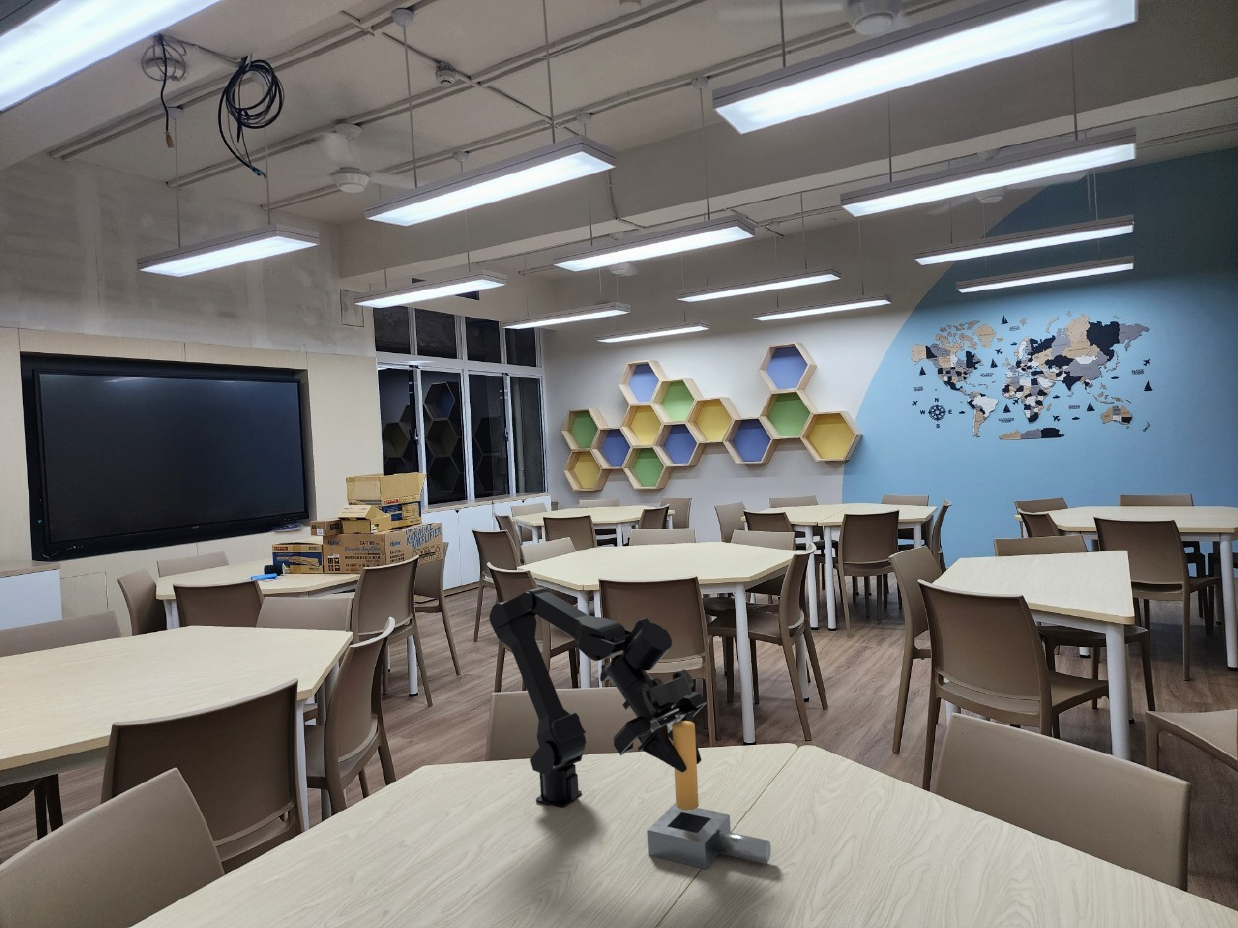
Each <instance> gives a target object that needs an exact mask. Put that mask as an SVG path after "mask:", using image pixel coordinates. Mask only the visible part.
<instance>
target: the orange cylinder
mask: <svg viewBox="0 0 1238 928" xmlns="http://www.w3.org/2000/svg"><path fill="white" fill-rule="evenodd" d="M695 726H696V724H695V723H694V722H693V721H692V722H689V721H679V722H675V723H674V724H673V725H672V728H673V741H672V744H673V745H674V747H675V749H676V750H677V752H678V753H679V755H680V756H681V758H682V760H683V762H684V763H685V765H686V767H687V769H686V771H685V772H683V773H682V772H680V771H679V770H677V769H675V768H674V781H675V782H674V786H675V787H674V789H675V803H676V806H677V808H679V809H681V810H694V809H696V808H699V806H700V805H699V782H698V781H699V780H698V766H697V765H698V764H697V760H696V743H697V740H696V727H695Z"/></svg>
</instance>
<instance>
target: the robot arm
mask: <svg viewBox="0 0 1238 928" xmlns="http://www.w3.org/2000/svg"><path fill="white" fill-rule="evenodd" d="M537 616H538V617H539V618H541V619H543V621H546V622H548V623H549V624H551V625H552V626H554V627H555V628H557V629H558V630H560V631H561V632H563V633H565V634H567V635H569V636H570V637H571V638H572V639H573V640H574V641H575V643H576V646H577V649H578V650H579V651H581V652H582V653H583V654H584V655H585V656H586V657H587V658H588V659H589V660H591V661H593V662H598V661H599V662H600V661H602V660H605V659H607V658H611V657H613V656H614V657H613V658H612V659H611V661H610V662H608V663H603V664H601V667H600V668H601V671H600V675H599V681H600V682H605V681H608V680H611V681H612V683H613V685H614V686H615V687H616V689H617V690H618V692H619V693H620V694H621V696H622V697H623V699H624V702H623V703H622V706H623V708H624V709H625V711H627V710H629V709H630V710H631V711H632V712H633V714H634V715H635V718H633V719H630V720H629V721H627V722H626V723H624V725H623V726H622V728H621V729H619V731H618V732H617V733H616V734H615V735H614V736H613V747H614V749H616V752H618V755H619V756H623V755H624V754H626V753H629V752H631V751H632V750H633V749H634V741H636V740H639V743H640V746H639V747H638V748H637V751H638V752H644V753H647V754H648V755H650V756H652V757H654V758H656V759H658V760H660V761H662V762H664V763H665V764H667V765H669V766H670V767H672V768H673V769H674V770H675V769H677V770H679V771H680V772H682V773H683V772H685V771H686V769H687V767H686V765H685V763H684V762H683V760H682V758H681V756H680V755H679V753H678V752H677V750H676V749H675V747H674V745H673V728H672V725H673V724H674V723H675V722H679V721H689V722H693V720H694V717H695V716H696V715H697V714H698V712H699V711H700V710H701V709H702V708H703V707H704V706H705V705H707V701H706V699H705V698H704V697H703V695H702V694H701V692H697V691H693V692H692V689H691V688H693V687H694V685H695V681H694V678H692V676H691V674H690V673H689V672H688V671H687V669H680V670H679V671H676V672H673V674H672V680H669V681H667V682H665V683H664V682H663V681H662V679H660V678H659V677H656V678H654V679H653V678H652V676H650V674H649V672H648V671H651V670H652V669H654V668H655V667H656V666H657V664H658V663H659V662H660V661H661V660H662V658H663V657H664V656H665V655H666V654H667V653H668V651H669V650H670V649H671V647H672V646H673V640H672V637H671V635H670V633H669V632H668V630H667V629H665V628H663V627H662V626H660V625H658V624H657V623H653V622H651V621H650V620H649V619H648V617H644V618H641V619H639V620H638V621H637V622H636V623H635V625H634V627H633V629H632V630H631V629H628V628H625V627H624V626H623V625H622V624H621V623H620V622H618V621H615V620H612V619H610V618H607V617H600V616H594V615H593V616H592V615H589V614H587V613H586V612H584V611H582V610H581V609H579V608H577V607H575V605H574V606H573V605H572V604H570V603H569V602H568V601H567V602H566V601H565V600H563V599H562V598H560V597H558V596H557V595H555V594H553V593H552V592H551V591H550V589H548V588H547V587H543V586H541V587H536V588H533V589H527V590H526V591H524V592H522V593H521V594H519V595H517V596H516V597H514V598H512V599H509V600H507V601H503V602H498V603H495V604H494V605H493V606H492V607H491V610H490V613H489V617H488V618H489V622H490V625H491V627H492V629H493V631H494V633H495V635H496V637H497V639H498V640H499V641H501V642H502V643H503V644H505V645H506V646H507V647H508V648H509V649H510V650H511V651H512V655H513V657H514V658H513V659H514V660H515V662H516V665H517V667H518V670H519V673H520V674H521V678H522V680H523V683H524V686H525V688H526V691H527V693H528V695H529V698H530V701H531V703H532V707H533V708H534V711H535V713H536V717H537V719H538V723H537V729H536V730H537V731H536V740H537V744H538V749H536V751H535V752H534V753H533V755H532V756H531V757H530V758H529V761H530V765H531V769H532V771H533V772H537V773H538V774H539V787H540V788H539V789H540V795H539V796H537V797H536V798H535V802H536V803H539V804H545V805H549V806H553V807H558V808H566V807H567V806H568V805H570V804H571V803H573V802H574V801H575V800H577V799H578V798H579V797H580V796H581V795H582V793H583V792H582V790H579V789H580V788H579V775H578V773H577V771H576V770H577V769H576V766H577V765H576V763H579V762H581V761H582V760H583V754H584V752H585V750H586V745H587V738H586V733H587V732H586V729H584V727H583V725H582V723H581V720H580V716H579V714H578V713H577V712H574V713H570V712H569V711H567V710H566V709H564V707H563V705H562V702H561V700H560V697H559V695H558V692H557V690H556V687H555V685H554V683H553V679H552V678H551V675H550V673H549V670H548V668H547V665H546V663H545V660H544V657H543V655H542V653H541V650H540V647H539V646H538V643H537V641H536V640H537V639H536V632H537V626H538V625H537V624H538V622H537V619H536V617H537ZM668 729H669V730H668ZM696 760H697V765H699V764H700V763H701V762H702V760H703V759H702V757H701V753H700V750H699V747H698V744H697V742H696Z"/></svg>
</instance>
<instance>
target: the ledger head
mask: <svg viewBox="0 0 1238 928" xmlns="http://www.w3.org/2000/svg"><path fill="white" fill-rule="evenodd" d="M731 829H732V828H731V814H729V813H723V812H719V811H713V810H708V809H704V808H700V807H698V808H696V809H694V810H681V809H679V808H677V806H676V802H675V803H673V805H671V807H669V809H668V810H666V811H665V813H663V814H662V815H661V816H660V817H659V818H658V819H657V820H656V821H655V822H654V823H653V824H652V825H651V826H650V827H648V829H647V830H646V832H647V845H648V847H647V850H648V855H649V856H651V857H656V858H660V859H664V860H667V861H671V862H676V863H679V864H683V865H688V866H692V867H696V868H699V869H703V870H708V869H709V867H710V866H711V864H712V863H713V862H714V861H715V859H716V858H717V857H718V856H719V855H720V854H722V855H723V854H724V855H728V856H731V857H736V858H740V859H745V860H748V861H752V862H758V863H762V864H764V865H765V864H766V865H767V864H768V862H770V858H771V849H772V847H771V846H772V845H771V841H769V840H766V839H762V838H757V837H753V836H748V835H744V834H739V833H734V832H731V831H732V830H731Z"/></svg>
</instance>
